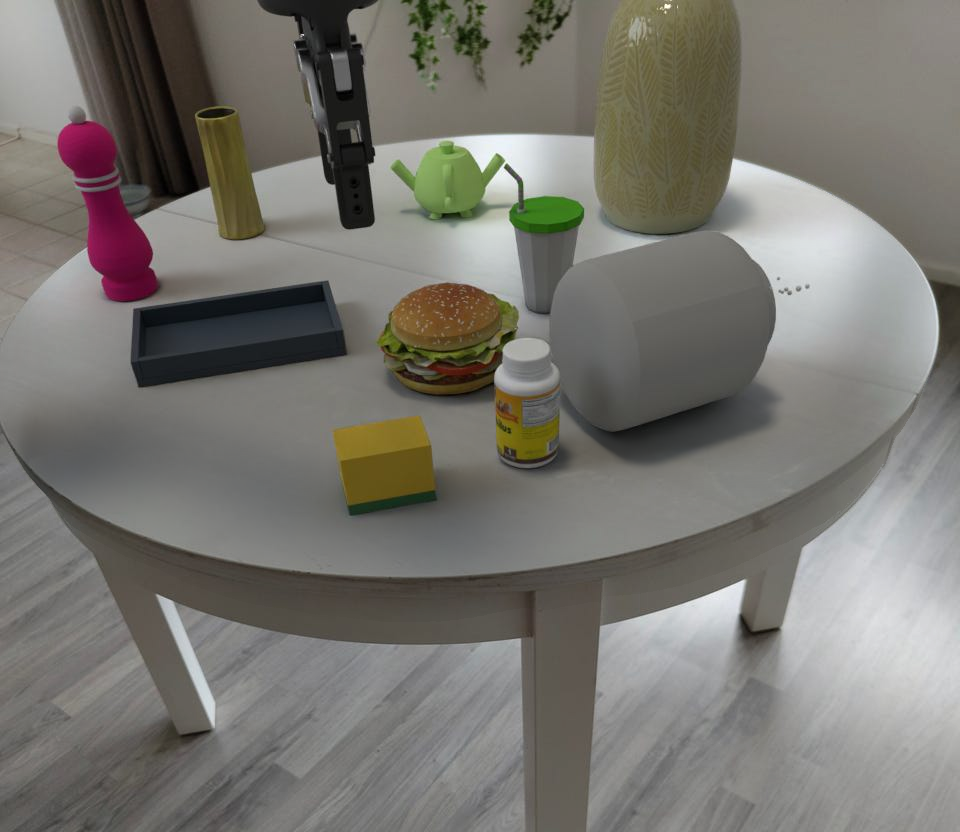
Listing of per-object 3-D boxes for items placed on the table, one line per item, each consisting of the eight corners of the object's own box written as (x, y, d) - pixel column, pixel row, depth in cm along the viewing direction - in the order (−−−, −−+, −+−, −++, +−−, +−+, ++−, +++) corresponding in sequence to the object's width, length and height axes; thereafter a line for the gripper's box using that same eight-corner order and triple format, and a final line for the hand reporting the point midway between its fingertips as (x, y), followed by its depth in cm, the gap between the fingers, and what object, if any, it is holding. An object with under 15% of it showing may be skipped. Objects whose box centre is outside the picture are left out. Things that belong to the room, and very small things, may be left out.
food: (482, 417, 89) (478, 339, 83) (360, 386, 94) (348, 310, 88) (546, 352, 97) (546, 277, 92) (430, 327, 102) (424, 254, 97)
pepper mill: (104, 281, 115) (43, 100, 101) (164, 274, 116) (112, 93, 102) (98, 307, 110) (33, 119, 96) (161, 299, 111) (105, 112, 96)
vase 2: (617, 184, 130) (630, -54, 111) (740, 199, 124) (776, -50, 105) (571, 230, 119) (576, -25, 100) (703, 249, 114) (735, -19, 95)
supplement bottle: (491, 441, 86) (486, 337, 79) (550, 432, 86) (550, 328, 79) (504, 475, 82) (500, 369, 75) (565, 466, 83) (568, 359, 75)
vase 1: (210, 238, 123) (181, 119, 113) (232, 220, 127) (206, 103, 117) (252, 241, 122) (226, 121, 112) (273, 223, 126) (250, 105, 116)
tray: (138, 387, 96) (130, 362, 94) (140, 332, 105) (133, 308, 103) (346, 354, 99) (343, 329, 97) (332, 303, 108) (328, 279, 106)
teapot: (450, 233, 121) (445, 163, 115) (390, 213, 127) (383, 145, 121) (509, 207, 126) (507, 138, 120) (449, 188, 132) (444, 123, 126)
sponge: (349, 515, 79) (339, 460, 75) (342, 483, 82) (332, 429, 78) (436, 499, 80) (431, 444, 76) (425, 468, 83) (420, 414, 79)
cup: (593, 297, 106) (599, 155, 95) (558, 326, 101) (561, 180, 91) (534, 283, 109) (533, 144, 98) (498, 311, 104) (493, 168, 94)
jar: (522, 314, 93) (754, 239, 95) (568, 457, 94) (796, 380, 96) (555, 247, 74) (843, 154, 76) (613, 426, 76) (895, 331, 77)
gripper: (234, -105, 57) (285, 176, 69) (249, -71, 47) (305, 251, 59) (355, -116, 58) (386, 163, 70) (395, -84, 48) (423, 235, 60)
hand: (349, 203), depth 64 cm, fingers open, 8 cm apart
